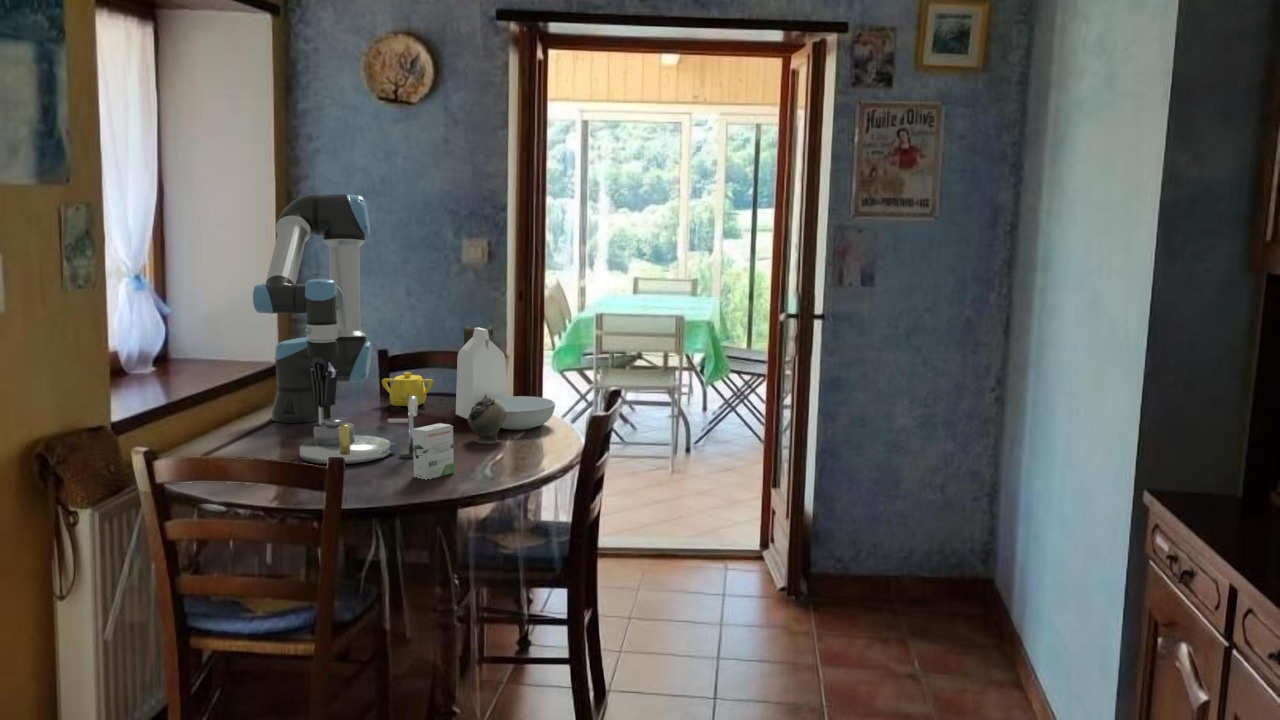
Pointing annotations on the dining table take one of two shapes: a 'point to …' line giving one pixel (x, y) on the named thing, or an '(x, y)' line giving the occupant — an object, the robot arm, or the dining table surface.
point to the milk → (479, 372)
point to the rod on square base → (411, 412)
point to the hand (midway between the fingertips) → (325, 430)
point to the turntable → (348, 448)
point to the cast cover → (331, 432)
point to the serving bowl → (526, 412)
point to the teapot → (407, 388)
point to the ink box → (433, 451)
